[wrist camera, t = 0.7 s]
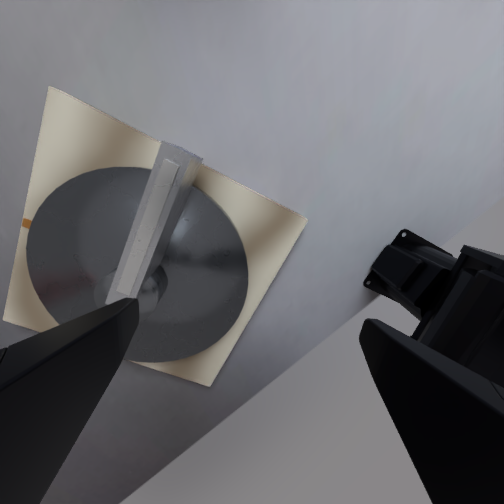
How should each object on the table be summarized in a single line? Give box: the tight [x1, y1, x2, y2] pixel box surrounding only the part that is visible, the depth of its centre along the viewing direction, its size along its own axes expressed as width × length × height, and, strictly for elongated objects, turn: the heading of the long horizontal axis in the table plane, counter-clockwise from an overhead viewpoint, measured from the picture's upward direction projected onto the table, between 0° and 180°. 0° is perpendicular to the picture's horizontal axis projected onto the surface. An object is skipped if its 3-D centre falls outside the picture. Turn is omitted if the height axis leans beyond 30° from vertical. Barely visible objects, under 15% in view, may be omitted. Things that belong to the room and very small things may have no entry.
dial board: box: [3, 86, 308, 387], centre depth 21 cm, size 20×20×2 cm
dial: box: [26, 141, 248, 363], centre depth 17 cm, size 19×17×5 cm
